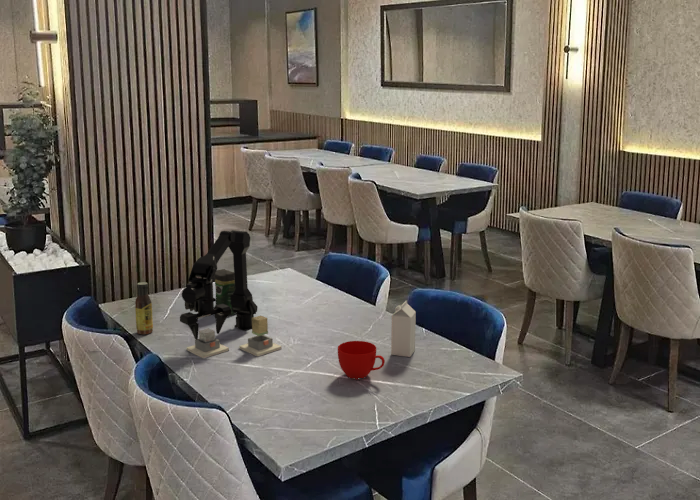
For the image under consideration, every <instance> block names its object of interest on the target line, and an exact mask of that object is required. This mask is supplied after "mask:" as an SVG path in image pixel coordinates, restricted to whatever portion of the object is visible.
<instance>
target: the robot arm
mask: <svg viewBox="0 0 700 500" xmlns="http://www.w3.org/2000/svg"><path fill="white" fill-rule="evenodd" d="M218 235H219V236H218V237H217V238H216V240H215V241H214V243H213V244H212V245H211V246H210V249H208V251H207V252H206V253H205V255H203V256H201V257H199V258H198V259H197V260H196V261H195V262H193V265H192V266H191V267H192V268H191V269H190V270H191V271H190V274H189V277H188V280H187V282H188V283H186V285H185V286H186V287H185V288H183V289H182V291H181V297H182V300H183V301H184V308H185V310H186V311H187V310H189V312H184V313H181V314H180V315H179V322H180V323H182V324H184V325H187V326H188V328H189V329H190V331H191V333H192V335H193V338H194V340H198V339H199V327H200V326H199V323H198V321H199V319H202V318H206V317H211V316H214V318H215V330H216V332H215V334H218V335H220V332H221V329H222V327H223V326H224V324H225V322H226V320H227V318H228V317H229V316H230V315H229V314H232V311H233V313H236V315H235V316H236V317H235V325H234V327H235V328H236V329H239V330H241V331H247V330H250V329H251V330H252V318H253V317H255V315H256V314H257V313H258V308H259V307H258V305H257V304H256V303H255V302H254V300H253V299H254V298H253V294H252V292H251V291H250V290H249V288H248V272H247V271H248V269H247V252H248V250H249V248H250V246H251V244H250V243H251V235H250V233H248V231H244V230H236V229H235V230H234V229H231V230H221V231H220V232H219V234H218ZM227 249H229V250H230V252H231V253H232V257H233V258H232V259H233V261H232V262H233V272H234V281H235V290H234V292H233V294H232V295H231V296H230V299H231V302H230V304H231V307H232V309H231V307H230V306H227V305H225V304H220V305H216V304H215V303H214V302H216V297H214V282H215V280H216V279H215V278H214V274H215V272H216V271H217V270H218V263H219V261H220V260H221V258H222V257H223V255H224V254H225V253H226V252H227ZM193 311H194V312H195V313H192V312H193Z"/></svg>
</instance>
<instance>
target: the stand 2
mask: <svg viewBox="0 0 700 500" xmlns="http://www.w3.org/2000/svg"><path fill="white" fill-rule="evenodd" d="M273 339H274V338H272V337H270V336H267V335H266V334H265V335H261V336H257V335H254V336H252V337H251V336H250V337H247V343H244V344H241V345H239V346H238V347H239V349H240V350H241V351H244V352H246V353H249V354H251V355H253V356H255V357H261V356H263V355H267V354H270V353H273V352H276V351H279V350H282V345H280V344H277V343H274V342H273V341H274V340H273Z"/></svg>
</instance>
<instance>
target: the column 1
mask: <svg viewBox="0 0 700 500" xmlns="http://www.w3.org/2000/svg"><path fill="white" fill-rule="evenodd" d="M215 334H216V332H215V330H213V329H211V328H204V329H201V330H198V339H199V340H200V341H201V342H203V343H209V342H212V341H215V338H216V336H215Z"/></svg>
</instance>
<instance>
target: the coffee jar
mask: <svg viewBox="0 0 700 500" xmlns="http://www.w3.org/2000/svg"><path fill="white" fill-rule="evenodd" d="M213 277H214V278H215V279H216V280H215V281H214V286H215V299H216V301H215V306H216V305H220V304H225V305H227V306H230V307H231V304H230V302H231V299H230V296H231V295H232V294H233V292H234V290H235V281H234V271H230V270H227V269H225V268H222V269H217V270H216V272H215V274H214V276H213ZM231 309H232V307H231ZM235 314H236V313H233V311H232V314H229V316H233V315H235Z"/></svg>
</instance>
